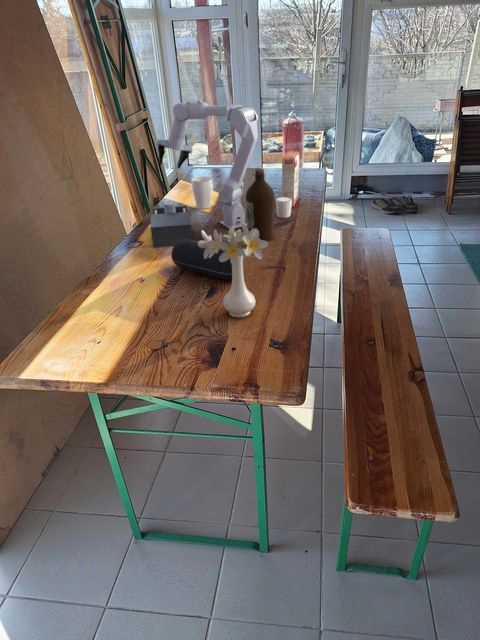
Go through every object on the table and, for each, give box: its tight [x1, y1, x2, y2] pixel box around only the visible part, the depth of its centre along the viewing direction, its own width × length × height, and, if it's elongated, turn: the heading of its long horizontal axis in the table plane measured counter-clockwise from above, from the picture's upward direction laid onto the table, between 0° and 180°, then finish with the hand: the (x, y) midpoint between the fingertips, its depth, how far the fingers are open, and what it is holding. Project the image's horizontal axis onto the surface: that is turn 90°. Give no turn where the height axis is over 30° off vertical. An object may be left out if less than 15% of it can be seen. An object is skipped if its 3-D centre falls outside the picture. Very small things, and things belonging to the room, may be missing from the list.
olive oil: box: [245, 168, 276, 242], centre depth 182 cm, size 11×11×25 cm
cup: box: [191, 176, 214, 210], centre depth 218 cm, size 9×9×12 cm
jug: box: [163, 201, 176, 214], centre depth 196 cm, size 6×4×8 cm
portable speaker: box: [170, 239, 245, 282], centre depth 160 cm, size 25×10×10 cm, turn 59°
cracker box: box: [281, 150, 301, 208], centre depth 218 cm, size 14×6×21 cm, turn 168°
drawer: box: [152, 205, 188, 214], centre depth 197 cm, size 15×13×6 cm
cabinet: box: [150, 211, 194, 248], centre depth 187 cm, size 15×15×8 cm
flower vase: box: [198, 224, 269, 318], centre depth 134 cm, size 13×18×25 cm
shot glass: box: [275, 196, 292, 219], centre depth 208 cm, size 7×7×7 cm
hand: (169, 165), depth 201 cm, fingers open, 7 cm apart
